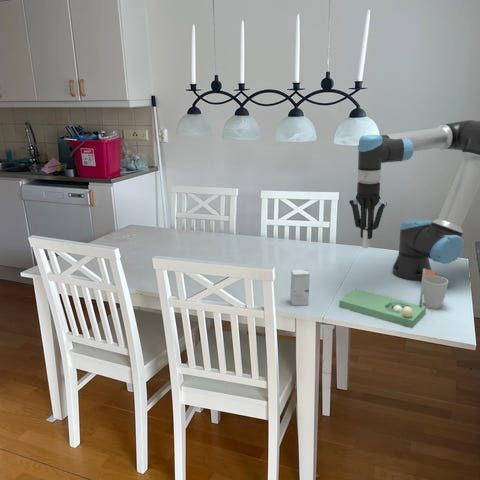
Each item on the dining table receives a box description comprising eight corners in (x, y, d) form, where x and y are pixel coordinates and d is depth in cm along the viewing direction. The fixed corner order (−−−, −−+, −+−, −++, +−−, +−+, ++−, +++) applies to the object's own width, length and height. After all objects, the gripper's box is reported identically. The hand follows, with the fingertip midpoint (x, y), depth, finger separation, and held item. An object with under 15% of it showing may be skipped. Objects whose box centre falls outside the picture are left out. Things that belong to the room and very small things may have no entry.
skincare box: (292, 305, 173) (292, 274, 170) (289, 300, 177) (290, 269, 174) (309, 305, 174) (310, 273, 170) (306, 299, 178) (307, 269, 174)
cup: (439, 300, 176) (442, 275, 173) (449, 310, 168) (452, 283, 165) (416, 301, 175) (419, 275, 172) (425, 311, 168) (428, 284, 165)
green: (339, 306, 172) (339, 300, 171) (355, 294, 182) (355, 288, 181) (411, 327, 156) (412, 320, 156) (425, 313, 166) (426, 306, 165)
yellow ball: (403, 313, 161) (404, 303, 160) (414, 315, 159) (415, 306, 158) (400, 316, 158) (401, 307, 157) (410, 319, 156) (411, 310, 155)
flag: (419, 306, 166) (423, 268, 161) (431, 309, 163) (435, 270, 159) (418, 307, 165) (422, 268, 161) (430, 310, 163) (435, 271, 158)
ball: (394, 302, 167) (404, 304, 165) (394, 311, 168) (404, 313, 166) (391, 306, 164) (401, 308, 162) (391, 315, 165) (401, 317, 163)
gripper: (346, 181, 166) (344, 246, 174) (383, 185, 159) (379, 253, 166) (355, 178, 172) (352, 241, 179) (391, 181, 165) (387, 246, 172)
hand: (365, 246), depth 173 cm, fingers closed
